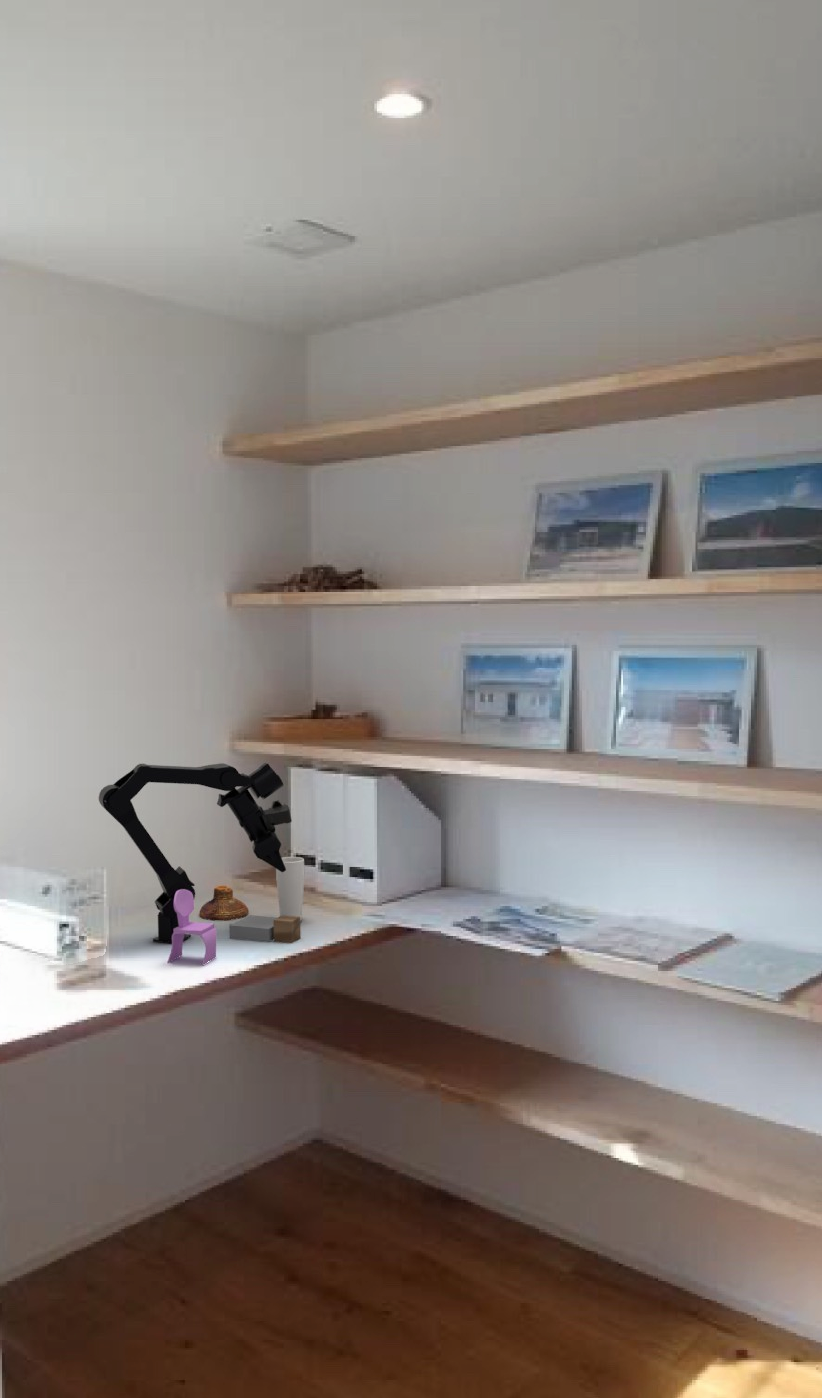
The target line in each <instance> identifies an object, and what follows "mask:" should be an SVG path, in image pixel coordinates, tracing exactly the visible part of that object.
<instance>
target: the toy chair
mask: <svg viewBox="0 0 822 1398" xmlns="http://www.w3.org/2000/svg"><path fill="white" fill-rule="evenodd" d="M194 900H195V898H193V894H192V893H191V892H190V891H189V890H186V889H181V890H178V891H176V893H175V897H174V910H175V911H176V913H177V917H178V924H179V927H176V928H174V933H173V934H172V943H171V949H170V952H169V956H168V960H167V962H166V963H167V964H169V962H170V963H171V962H173V961H175V960H176V959H175V958H177V957H178V958H180V957H182V956H183V945H184V944H183V943H184V940H183V939H184V935H185V934H191V935H192V936H193V935H195V936H199V937H201V939H202V940H203V941H202V942H203V945H204V947H205V952H204V957H203V961H202V963H201V965H202V964H205V963H207V962H208V961H210V960H211V961H213V960H214V959H213V958H215V957H216V958H217V935H218V933H217V929H216V927H215V923H212V922H196V921H195V922H194V921H189V920H190V919H189V917H190V915H191V913H192V912H194V910H195V901H194ZM181 955H182V956H181ZM179 956H180V957H179ZM178 958H177V959H178ZM216 958H215V959H216ZM174 959H175V960H174ZM212 959H213V960H212ZM172 960H173V961H172ZM211 961H210V962H211ZM208 963H209V962H208ZM208 963H207V964H208ZM205 965H206V964H205Z"/></svg>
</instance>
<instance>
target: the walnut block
mask: <svg viewBox="0 0 822 1398" xmlns="http://www.w3.org/2000/svg"><path fill="white" fill-rule="evenodd" d="M301 937H302V933H301V921H300V917H297V916H285V915H282V916H280V915H279V916H278V918H276V919H274V940H273V942H274V943H286V944H294V943H295V942H297V941H299V940H300V939H301Z"/></svg>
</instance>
